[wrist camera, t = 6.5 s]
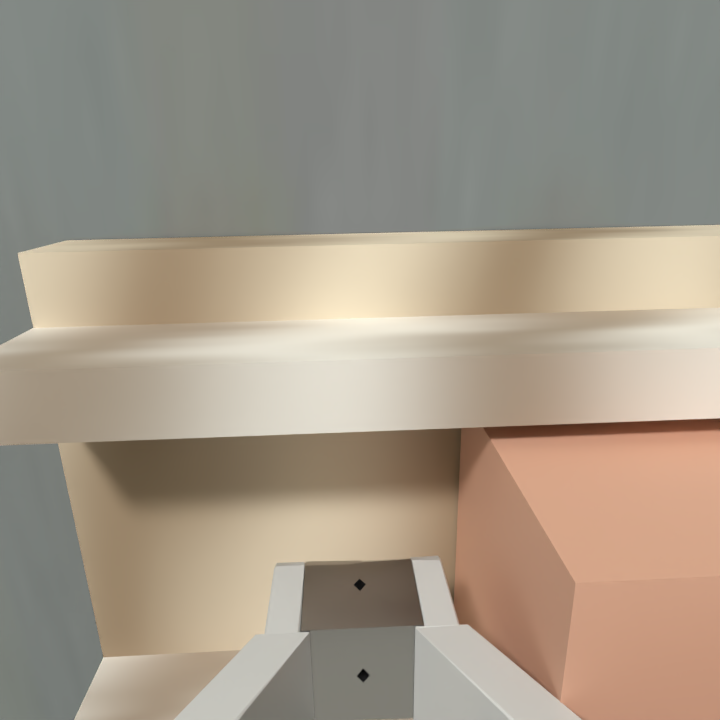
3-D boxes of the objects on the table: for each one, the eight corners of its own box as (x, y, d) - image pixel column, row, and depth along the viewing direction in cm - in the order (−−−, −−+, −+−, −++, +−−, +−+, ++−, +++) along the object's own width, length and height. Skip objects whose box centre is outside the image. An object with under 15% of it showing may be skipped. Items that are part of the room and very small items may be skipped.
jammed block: (703, 384, 11) (1014, 561, 6) (659, 618, 13) (868, 901, 8) (462, 393, 11) (575, 582, 6) (452, 628, 13) (531, 926, 8)
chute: (874, 221, 13) (1148, 245, 8) (762, 637, 17) (911, 798, 12) (67, 240, 12) (-79, 277, 8) (145, 670, 16) (77, 854, 12)
